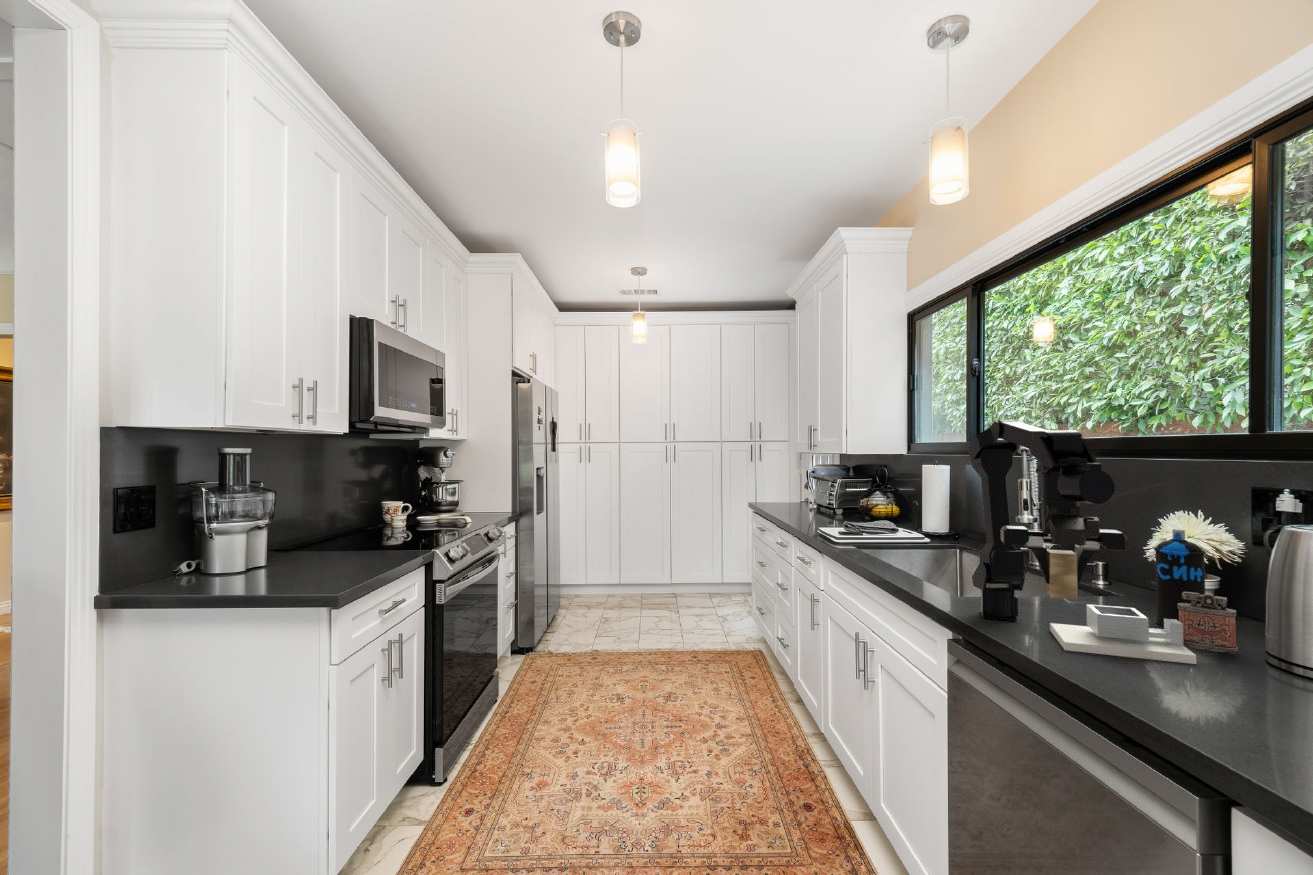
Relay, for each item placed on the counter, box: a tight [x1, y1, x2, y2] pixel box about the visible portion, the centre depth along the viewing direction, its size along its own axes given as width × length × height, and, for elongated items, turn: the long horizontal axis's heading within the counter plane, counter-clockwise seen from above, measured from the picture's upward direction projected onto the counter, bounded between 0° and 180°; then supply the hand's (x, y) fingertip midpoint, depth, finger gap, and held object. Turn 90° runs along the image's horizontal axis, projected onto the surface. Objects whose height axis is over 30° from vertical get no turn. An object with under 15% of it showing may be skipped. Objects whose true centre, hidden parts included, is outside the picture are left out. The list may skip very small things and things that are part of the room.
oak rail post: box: [1046, 549, 1079, 600], centre depth 109 cm, size 4×4×8 cm
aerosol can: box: [1153, 528, 1207, 627], centre depth 124 cm, size 8×8×20 cm
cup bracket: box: [1086, 604, 1184, 646], centre depth 111 cm, size 13×8×5 cm, turn 67°
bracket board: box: [1049, 622, 1197, 665], centre depth 112 cm, size 19×13×2 cm
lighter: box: [1178, 592, 1239, 654], centre depth 111 cm, size 8×3×10 cm, turn 47°
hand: (1061, 584), depth 109 cm, fingers closed on oak rail post, 4 cm apart
